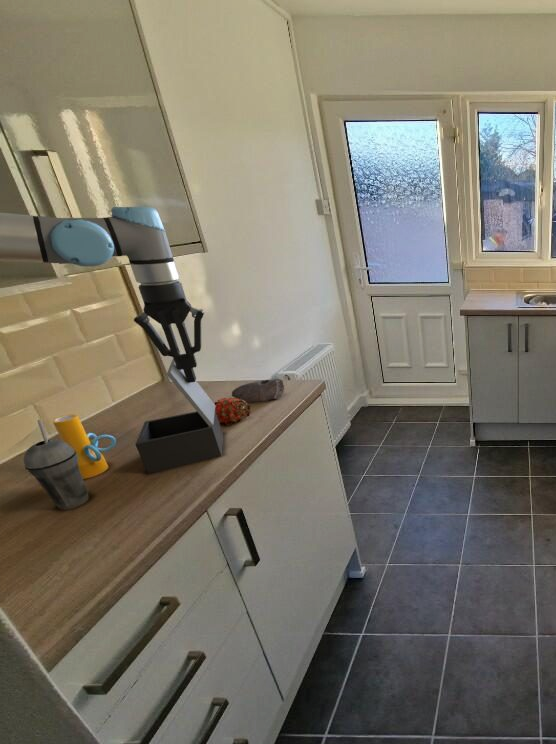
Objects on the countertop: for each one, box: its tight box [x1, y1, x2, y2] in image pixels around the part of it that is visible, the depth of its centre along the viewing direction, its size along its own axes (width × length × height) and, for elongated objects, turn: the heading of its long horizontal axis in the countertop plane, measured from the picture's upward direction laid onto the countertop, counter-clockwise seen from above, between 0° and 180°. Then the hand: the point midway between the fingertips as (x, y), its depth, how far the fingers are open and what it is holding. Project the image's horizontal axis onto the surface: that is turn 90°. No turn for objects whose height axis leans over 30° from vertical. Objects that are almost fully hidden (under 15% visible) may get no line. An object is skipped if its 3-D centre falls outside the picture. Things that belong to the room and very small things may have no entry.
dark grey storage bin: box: [135, 410, 224, 475], centre depth 104 cm, size 15×13×9 cm
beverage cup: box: [23, 419, 90, 511], centre depth 84 cm, size 7×7×20 cm
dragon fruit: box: [213, 396, 252, 426], centre depth 120 cm, size 8×8×12 cm
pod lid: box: [166, 357, 215, 427], centre depth 102 cm, size 16×13×1 cm
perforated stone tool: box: [231, 378, 285, 404], centre depth 133 cm, size 15×5×7 cm, turn 107°
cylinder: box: [51, 413, 117, 480], centre depth 95 cm, size 12×10×15 cm
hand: (192, 380), depth 101 cm, fingers closed
